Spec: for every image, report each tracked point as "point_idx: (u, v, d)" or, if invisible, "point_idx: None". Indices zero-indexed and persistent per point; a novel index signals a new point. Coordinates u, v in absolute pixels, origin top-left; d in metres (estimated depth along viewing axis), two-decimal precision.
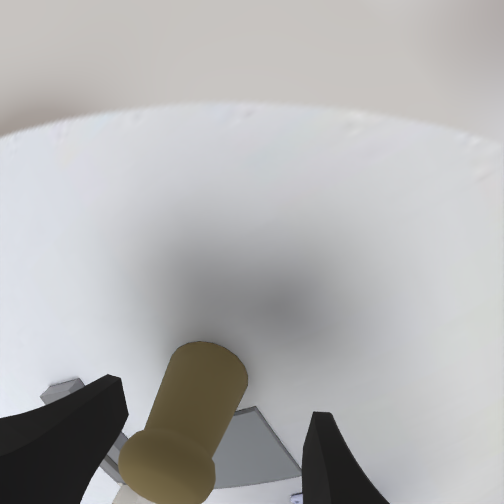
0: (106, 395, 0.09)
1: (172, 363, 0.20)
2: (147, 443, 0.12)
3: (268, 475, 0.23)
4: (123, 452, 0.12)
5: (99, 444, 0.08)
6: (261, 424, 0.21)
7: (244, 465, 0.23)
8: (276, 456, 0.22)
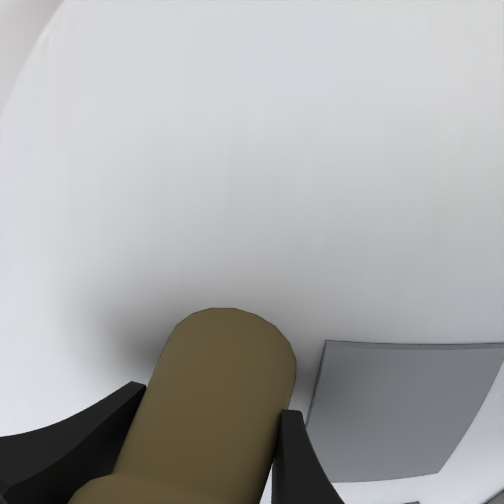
0: (132, 403, 0.09)
1: None
2: None
3: (471, 395, 0.12)
4: None
5: None
6: (362, 353, 0.12)
7: (428, 418, 0.12)
8: (445, 366, 0.11)
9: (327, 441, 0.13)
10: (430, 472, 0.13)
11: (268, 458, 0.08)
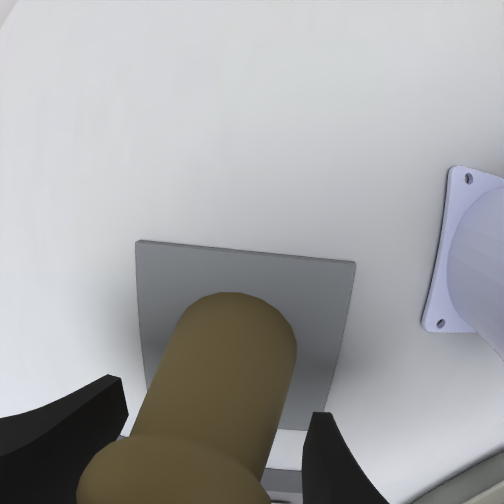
0: (106, 395, 0.09)
1: None
2: None
3: (318, 323, 0.14)
4: None
5: (100, 444, 0.08)
6: (165, 250, 0.14)
7: None
8: (262, 276, 0.13)
9: (162, 354, 0.15)
10: (305, 428, 0.15)
11: (272, 426, 0.09)
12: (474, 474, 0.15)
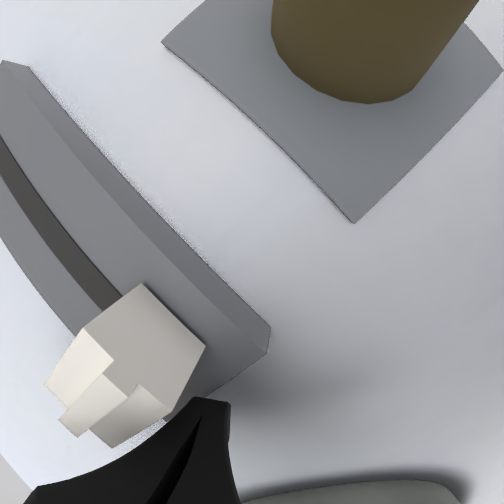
0: (202, 420, 0.09)
1: None
2: None
3: (453, 77, 0.08)
4: None
5: None
6: None
7: None
8: None
9: None
10: (345, 202, 0.10)
11: None
12: (405, 488, 0.13)
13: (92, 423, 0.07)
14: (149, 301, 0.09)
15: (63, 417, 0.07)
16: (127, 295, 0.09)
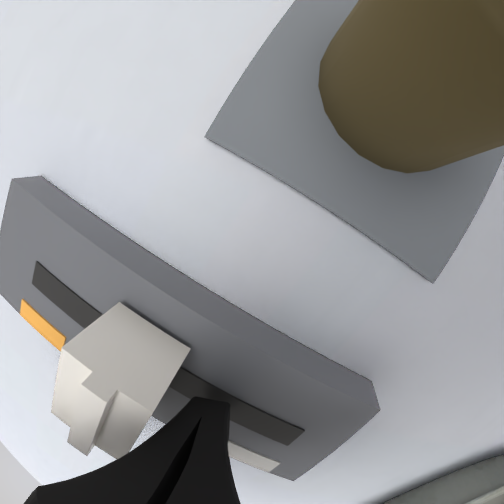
0: (202, 421, 0.09)
1: (332, 44, 0.07)
2: None
3: None
4: None
5: None
6: None
7: None
8: None
9: (295, 56, 0.09)
10: (424, 268, 0.10)
11: None
12: (491, 466, 0.12)
13: (91, 437, 0.07)
14: (128, 316, 0.10)
15: (70, 437, 0.07)
16: (105, 314, 0.09)
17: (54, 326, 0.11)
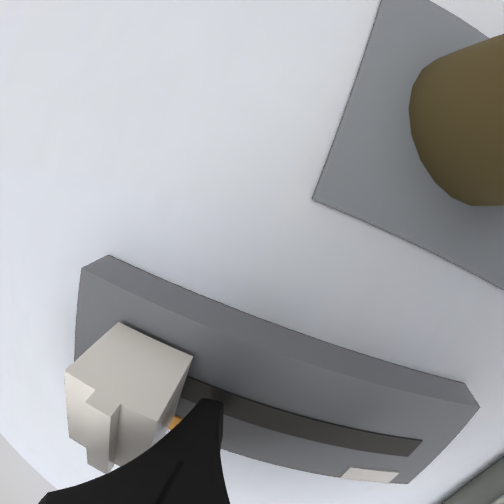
0: (211, 422, 0.09)
1: (434, 99, 0.07)
2: None
3: None
4: None
5: None
6: (423, 0, 0.08)
7: None
8: None
9: (385, 104, 0.09)
10: (503, 283, 0.10)
11: None
12: None
13: (106, 454, 0.07)
14: (128, 334, 0.10)
15: (89, 459, 0.07)
16: (104, 335, 0.09)
17: None
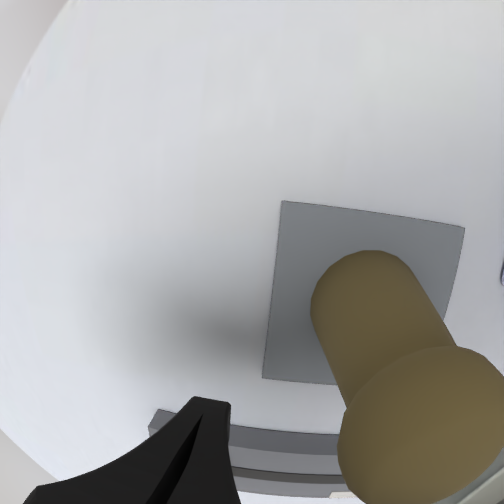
0: (202, 420, 0.09)
1: (317, 330, 0.14)
2: (357, 424, 0.06)
3: (436, 277, 0.14)
4: (344, 474, 0.06)
5: None
6: (314, 209, 0.14)
7: None
8: (399, 235, 0.14)
9: (293, 317, 0.16)
10: None
11: None
12: None
13: None
14: None
15: None
16: None
17: None
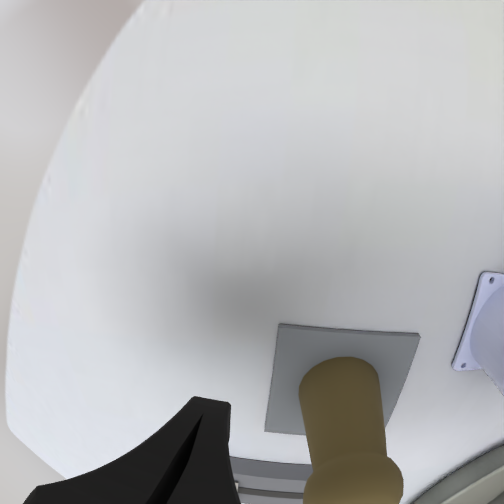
0: (202, 420, 0.09)
1: (301, 410, 0.19)
2: (310, 489, 0.11)
3: (393, 370, 0.19)
4: None
5: None
6: (302, 332, 0.19)
7: None
8: (365, 346, 0.19)
9: (286, 397, 0.21)
10: None
11: None
12: (479, 463, 0.21)
13: None
14: None
15: None
16: None
17: None
